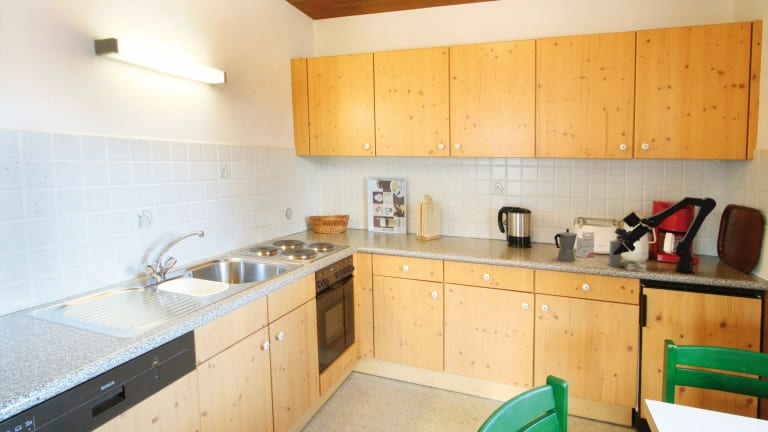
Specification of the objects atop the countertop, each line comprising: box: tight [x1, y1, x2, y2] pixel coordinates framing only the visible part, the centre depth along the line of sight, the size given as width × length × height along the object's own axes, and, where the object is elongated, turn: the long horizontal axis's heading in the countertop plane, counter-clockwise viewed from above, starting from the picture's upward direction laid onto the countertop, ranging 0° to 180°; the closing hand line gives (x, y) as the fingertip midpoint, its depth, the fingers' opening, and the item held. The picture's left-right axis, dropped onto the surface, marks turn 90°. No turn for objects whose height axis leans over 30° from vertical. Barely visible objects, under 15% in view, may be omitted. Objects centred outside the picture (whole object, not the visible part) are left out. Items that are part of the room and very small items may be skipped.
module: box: [608, 238, 622, 268], centre depth 240 cm, size 4×5×14 cm
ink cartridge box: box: [575, 231, 595, 259], centre depth 261 cm, size 9×5×15 cm, turn 105°
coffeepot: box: [553, 228, 578, 263], centre depth 251 cm, size 15×9×18 cm, turn 110°
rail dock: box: [623, 260, 647, 273], centre depth 233 cm, size 8×9×3 cm
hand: (612, 253), depth 240 cm, fingers open, 6 cm apart
